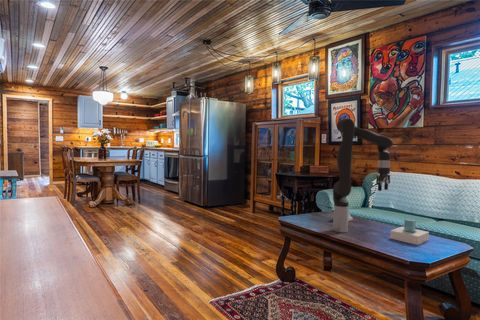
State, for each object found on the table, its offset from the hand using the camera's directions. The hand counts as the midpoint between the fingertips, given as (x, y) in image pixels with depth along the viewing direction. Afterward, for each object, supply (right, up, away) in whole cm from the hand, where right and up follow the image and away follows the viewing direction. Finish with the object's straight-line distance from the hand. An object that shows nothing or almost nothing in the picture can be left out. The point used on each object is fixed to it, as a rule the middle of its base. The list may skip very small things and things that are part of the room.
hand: (382, 190), depth 215 cm
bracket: (+7, -27, -21) cm, 35 cm away
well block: (+7, -28, -21) cm, 36 cm away
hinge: (-19, -26, +26) cm, 42 cm away
